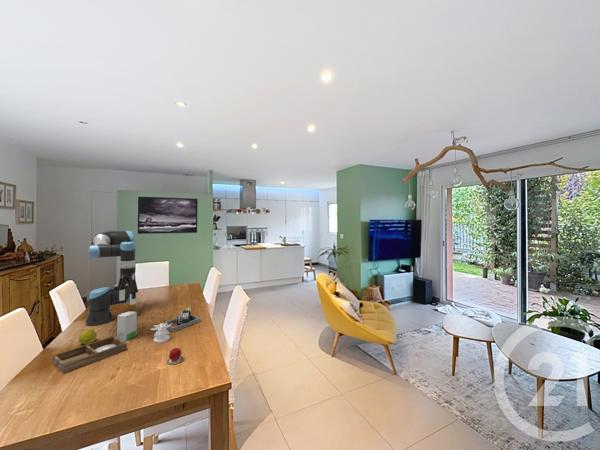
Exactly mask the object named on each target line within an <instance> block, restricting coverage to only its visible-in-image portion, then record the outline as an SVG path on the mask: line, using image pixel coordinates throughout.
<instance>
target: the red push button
mask: <svg viewBox="0 0 600 450" xmlns="http://www.w3.org/2000/svg"><path fill="white" fill-rule="evenodd" d="M183 360H185V359H184V356H183V355H182V350H181V349H180V348H179V347H174V348H172V349H171V350H170V351H169V355H168V359H167V360H166V362H165V363H166V364H168V365H175V364H179V363H181V362H183Z"/></svg>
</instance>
